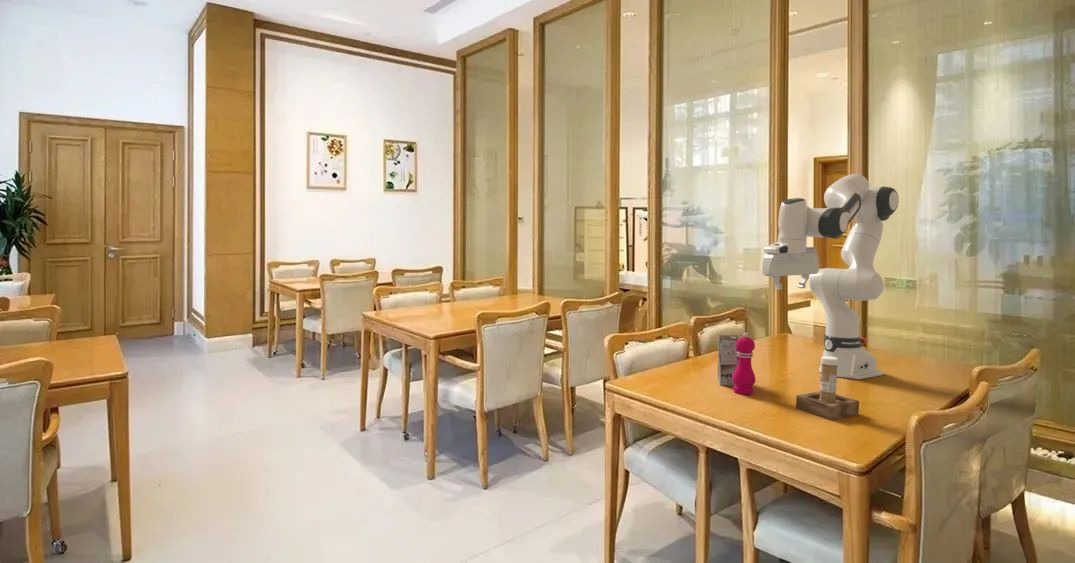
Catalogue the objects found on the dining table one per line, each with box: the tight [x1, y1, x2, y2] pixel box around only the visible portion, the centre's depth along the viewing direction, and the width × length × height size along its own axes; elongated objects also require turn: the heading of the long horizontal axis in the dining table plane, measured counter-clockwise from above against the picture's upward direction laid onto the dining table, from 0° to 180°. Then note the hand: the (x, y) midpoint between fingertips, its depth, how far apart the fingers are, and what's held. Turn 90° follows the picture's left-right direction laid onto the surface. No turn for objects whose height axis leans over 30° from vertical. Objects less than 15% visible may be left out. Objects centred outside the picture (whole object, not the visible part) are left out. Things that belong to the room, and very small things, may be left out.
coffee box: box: [717, 334, 739, 387], centre depth 210 cm, size 9×6×16 cm
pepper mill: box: [732, 332, 756, 396], centre depth 198 cm, size 7×7×20 cm
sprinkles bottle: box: [819, 355, 838, 403], centre depth 178 cm, size 5×5×14 cm
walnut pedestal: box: [795, 390, 860, 421], centre depth 179 cm, size 12×12×4 cm
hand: (790, 288), depth 202 cm, fingers open, 8 cm apart
